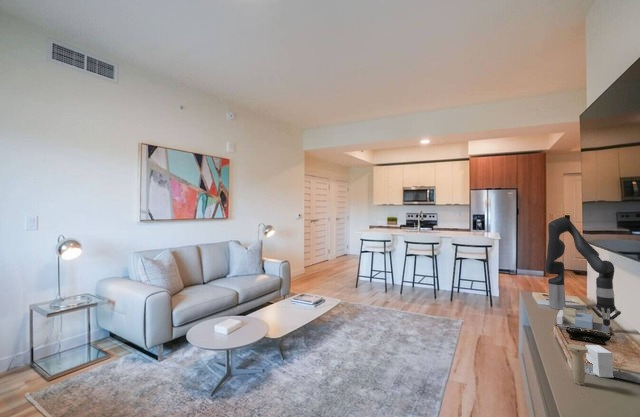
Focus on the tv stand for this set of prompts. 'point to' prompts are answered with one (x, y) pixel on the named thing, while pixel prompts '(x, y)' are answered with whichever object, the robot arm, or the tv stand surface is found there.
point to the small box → (600, 360)
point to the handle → (578, 362)
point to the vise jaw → (584, 320)
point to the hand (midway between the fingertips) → (606, 325)
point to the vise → (595, 327)
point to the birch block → (569, 315)
